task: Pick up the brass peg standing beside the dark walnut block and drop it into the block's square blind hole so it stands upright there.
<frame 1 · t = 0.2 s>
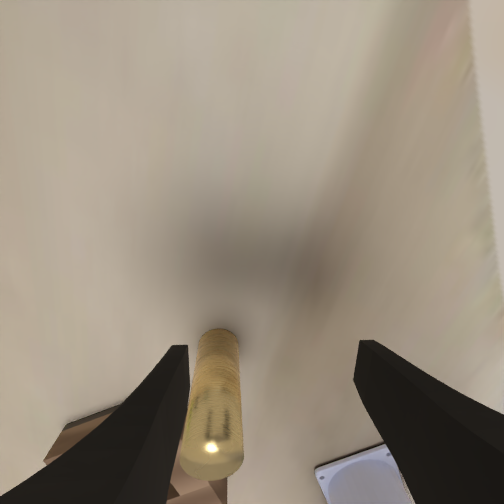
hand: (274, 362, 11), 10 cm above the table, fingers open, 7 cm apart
brass peg: (218, 345, 22), on the table
walnut block: (151, 451, 25), on the table
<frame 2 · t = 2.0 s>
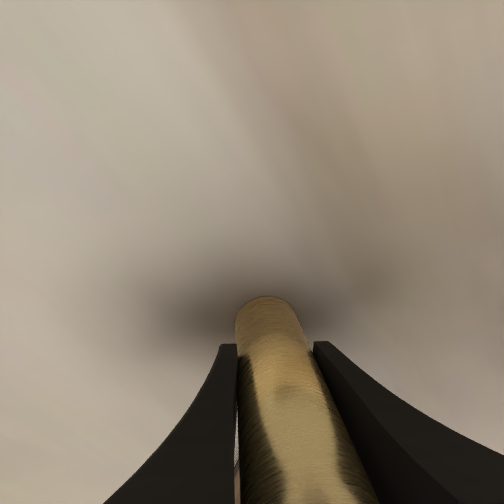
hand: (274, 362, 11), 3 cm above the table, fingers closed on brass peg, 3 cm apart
brass peg: (265, 324, 14), on the table, touching gripper
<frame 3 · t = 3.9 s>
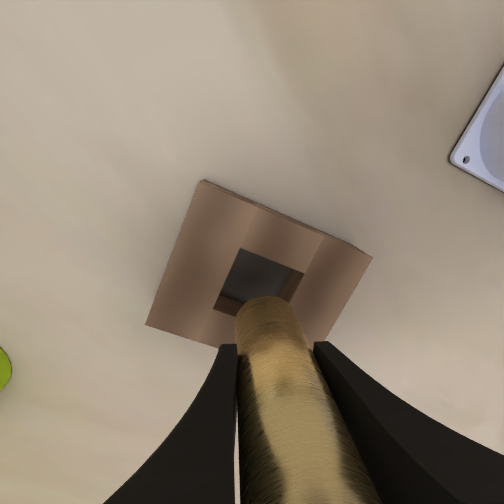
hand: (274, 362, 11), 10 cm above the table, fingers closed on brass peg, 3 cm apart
brass peg: (265, 323, 14), point 7 cm above the table, touching gripper
walnut block: (254, 274, 21), on the table
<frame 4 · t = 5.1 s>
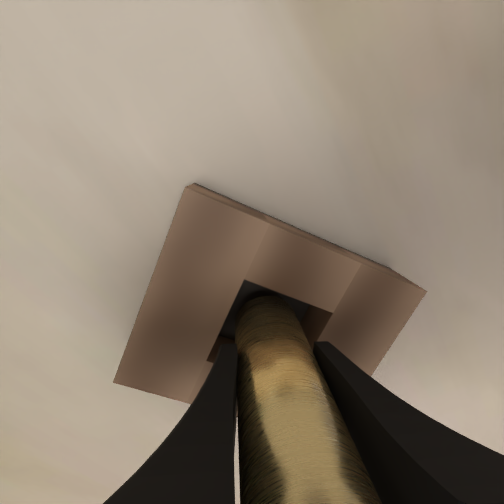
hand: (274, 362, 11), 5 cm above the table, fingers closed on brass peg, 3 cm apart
brass peg: (265, 323, 14), point 2 cm above the table, touching gripper
walnut block: (261, 306, 16), on the table
when the fingers open (5 cm above the table, at t = 6.1 s): brass peg drops 1 cm, resting on walnut block.
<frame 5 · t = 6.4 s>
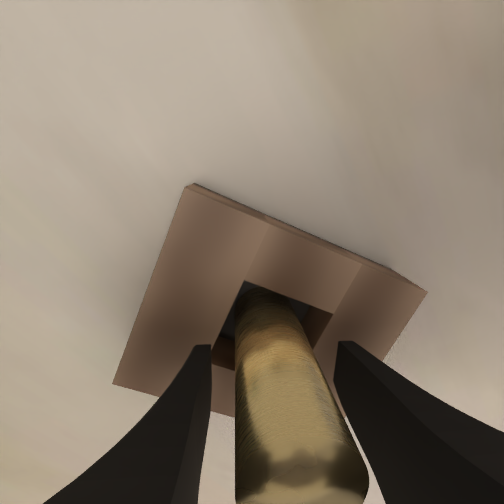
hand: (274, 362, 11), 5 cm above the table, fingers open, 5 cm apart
brass peg: (263, 312, 15), point 1 cm above the table, touching walnut block
walnut block: (261, 307, 16), on the table
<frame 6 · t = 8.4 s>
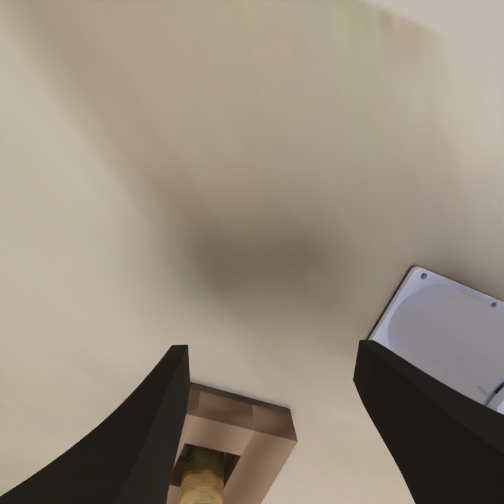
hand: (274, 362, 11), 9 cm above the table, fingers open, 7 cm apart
brass peg: (206, 441, 24), point 1 cm above the table, touching walnut block
walnut block: (206, 434, 24), on the table
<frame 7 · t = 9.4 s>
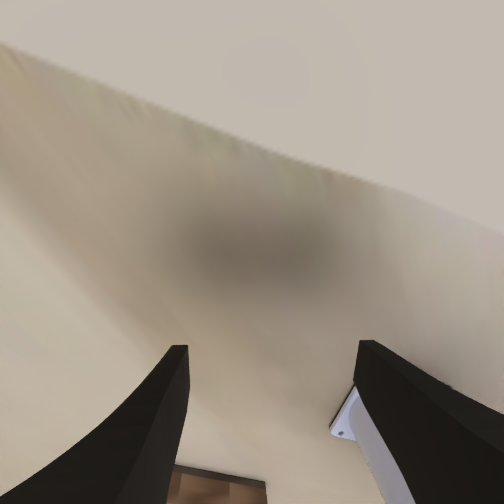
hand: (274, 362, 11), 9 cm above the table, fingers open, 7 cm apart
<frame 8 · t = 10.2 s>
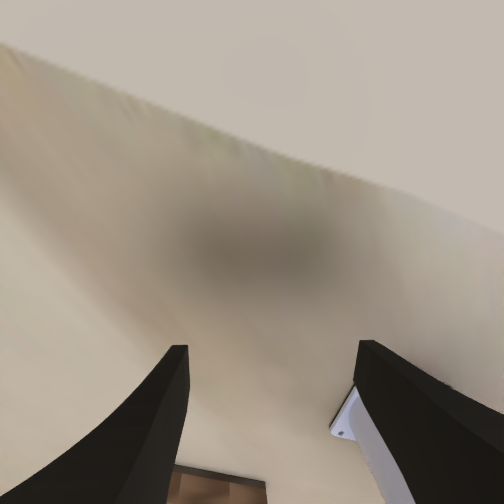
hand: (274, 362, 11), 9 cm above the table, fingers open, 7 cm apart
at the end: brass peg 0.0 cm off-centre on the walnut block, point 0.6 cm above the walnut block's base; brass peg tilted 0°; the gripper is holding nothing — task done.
